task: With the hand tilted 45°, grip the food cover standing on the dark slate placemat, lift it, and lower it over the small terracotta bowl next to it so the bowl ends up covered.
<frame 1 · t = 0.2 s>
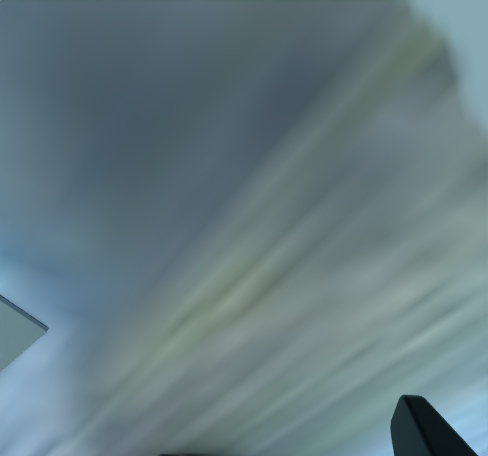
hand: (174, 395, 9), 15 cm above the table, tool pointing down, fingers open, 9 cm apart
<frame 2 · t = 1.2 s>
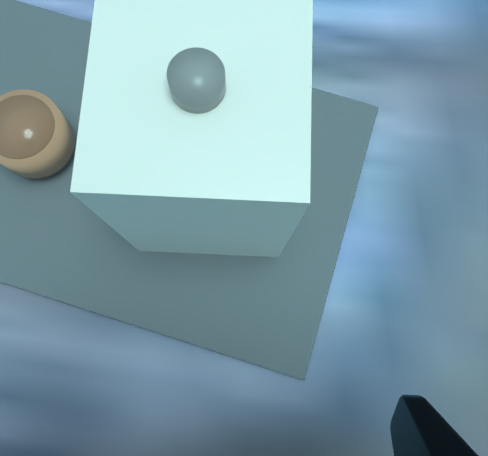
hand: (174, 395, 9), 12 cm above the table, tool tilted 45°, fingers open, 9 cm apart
bowl: (43, 148, 23), resting on placemat
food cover: (212, 187, 23), resting on placemat
placemat: (129, 170, 23), on the table
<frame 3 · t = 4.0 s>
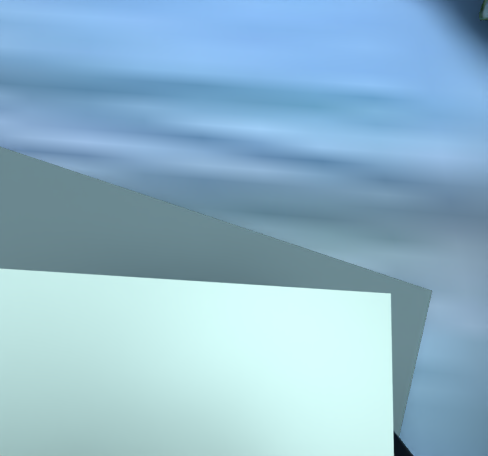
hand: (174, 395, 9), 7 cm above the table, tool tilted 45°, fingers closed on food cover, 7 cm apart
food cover: (189, 419, 15), resting on placemat, touching gripper
placemat: (64, 386, 16), on the table
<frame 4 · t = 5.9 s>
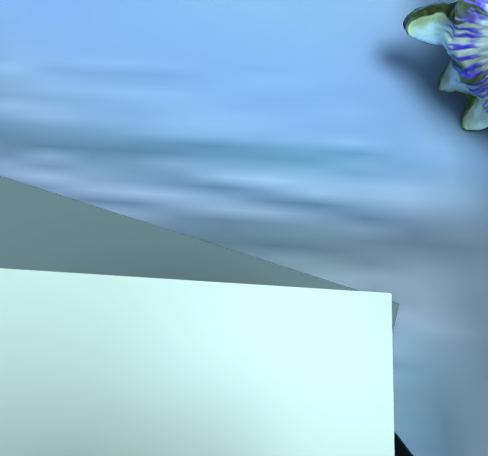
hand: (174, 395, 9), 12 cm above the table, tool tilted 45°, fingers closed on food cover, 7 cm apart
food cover: (189, 419, 15), point 6 cm above the table, touching gripper
placemat: (126, 378, 21), on the table
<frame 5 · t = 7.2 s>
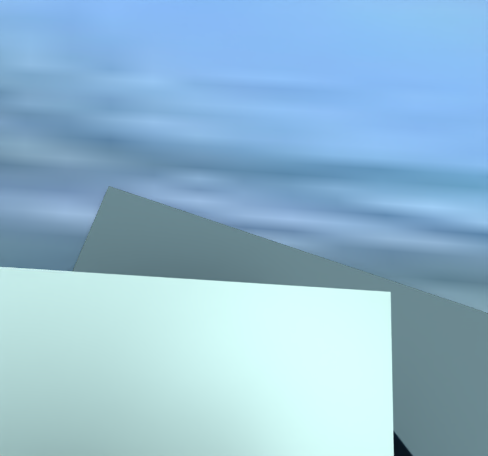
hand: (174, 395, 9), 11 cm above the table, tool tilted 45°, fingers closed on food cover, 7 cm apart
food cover: (189, 419, 15), point 4 cm above the table, touching gripper
placemat: (296, 425, 19), on the table
when the fingers open (8 cm above the table, at t = 8.2 s): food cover drops 1 cm, resting on placemat.
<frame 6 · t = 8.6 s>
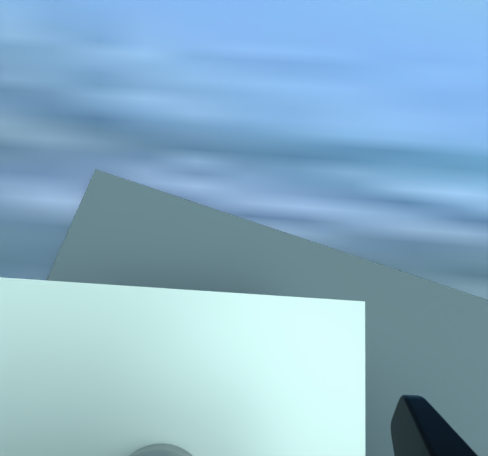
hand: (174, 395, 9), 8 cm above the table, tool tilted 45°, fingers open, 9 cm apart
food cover: (193, 411, 17), resting on placemat
placemat: (308, 440, 17), on the table
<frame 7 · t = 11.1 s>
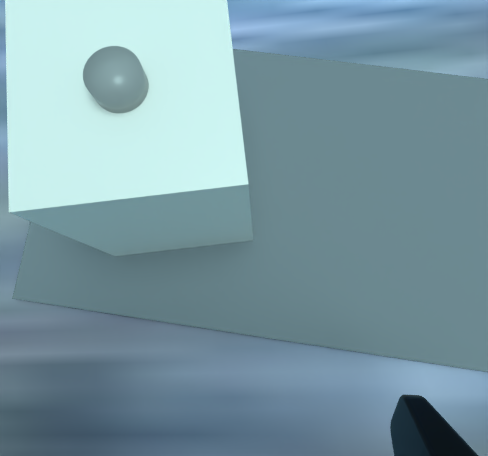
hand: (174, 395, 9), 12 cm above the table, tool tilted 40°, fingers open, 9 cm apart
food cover: (177, 181, 23), resting on placemat
placemat: (265, 188, 23), on the table
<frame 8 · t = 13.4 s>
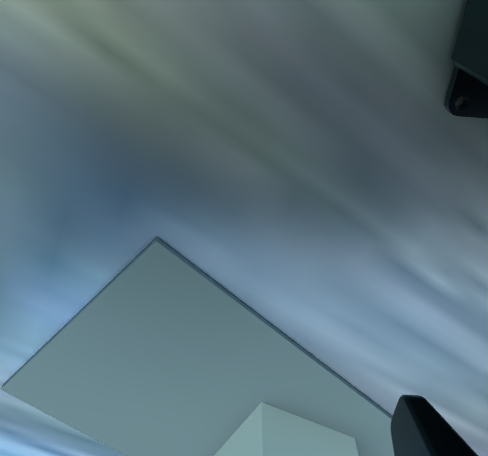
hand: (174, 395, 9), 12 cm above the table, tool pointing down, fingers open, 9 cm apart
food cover: (280, 450, 29), resting on placemat
placemat: (227, 416, 28), on the table
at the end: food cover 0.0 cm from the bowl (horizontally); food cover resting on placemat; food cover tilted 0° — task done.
